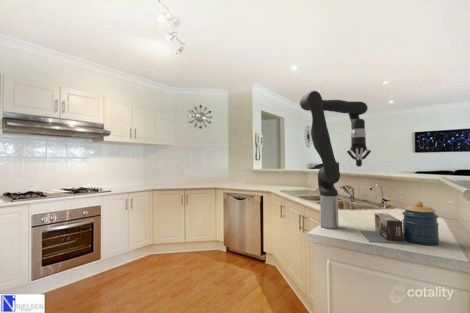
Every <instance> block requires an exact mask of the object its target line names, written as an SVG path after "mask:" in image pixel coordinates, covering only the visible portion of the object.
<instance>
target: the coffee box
mask: <svg viewBox="0 0 470 313" xmlns="http://www.w3.org/2000/svg"><path fill="white" fill-rule="evenodd" d="M374 231H376V232H378V233H379V234H380V235H381V236H383V237H384V238H385V239H386V240H387V241H403V240H404V237H403V221H402V220H400V219H398V218H396V217H394V216H392V215H391V214H389V213H380V212H378V213H377V212H375V213H374Z"/></svg>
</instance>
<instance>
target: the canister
mask: <svg viewBox="0 0 470 313" xmlns="http://www.w3.org/2000/svg"><path fill="white" fill-rule="evenodd" d="M401 213H402V215H403V219H401V221H402V228H403V240H404V241H406V242H408V243H409V242H410V243H413V244H417V245H426V246H437V245H439V243H440V237H439V223H438V218H439V217H440V216H439V215H438V214H436V209H434V208H432V206H428V205H424V203H423V201H416V202H415V204H410V205H409V204H408V205H407V206H405V207H404V211H402V212H401Z"/></svg>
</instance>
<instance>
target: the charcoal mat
mask: <svg viewBox="0 0 470 313" xmlns="http://www.w3.org/2000/svg"><path fill="white" fill-rule="evenodd" d="M360 232H361V233H362V235H363V236H364V237H365V238H366V240H368V241H369V242H370V243H381V244H397V245H409V242H408V241H407V240H405V239H403V241H387V240H386V239H385V238H384V237H383V236H381V235H380V234H379V233H378V232H376V231H375V230H362V229H361V230H360Z"/></svg>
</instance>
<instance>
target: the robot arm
mask: <svg viewBox="0 0 470 313" xmlns="http://www.w3.org/2000/svg"><path fill="white" fill-rule="evenodd" d="M299 106H300V108H301V109H302V110H304V111H308V112H309V111H310V113H311V119H312V123H311V129H310V137H311V141H312V145H313V147H314V149H315V151H316V152H317V154H318V156H319V157H320V159H321V163H322V167H320V168H319V170H318V173H317V183H318V184H317V185H318V191H319V199H320V200H319V206H320V207H319V216H320V217H319V220H320V221H319V222H320V227H321V228H325V229H338V228H339V194H338V189H336V187H335V184H337V183H338V182H339V181H340V179H341V172H340V169H339V166H338V163H337V160H336V157H335V153H334V150H333V145H332V142H331V137H330V134H329V128H328V126H327V120H326V116H325V112H334V113H339V114H340V113H341V114H348V116H349V120H350V123H351V131H350V138H351V139H350V140H351V141H350V142H351V143H350V144H351V147H350V149H348V150H347V151H346V153H347V154H348V156H350V158H351V159H352V160H355V165H356V166H357V167H358V168H359V167H360V168H361V167H362V165H363V160H366V158H367V157H368V156H369V155H370V154H371V152H372V151H371V149H368V147H367V144H366V141H367V140H366V124H365V120H364V119H363V118H360V116H361V115H363V114H366V113H367V111H368V105H367V103H366V102H363V101H348V100H344V99H343V100H342V99H323V97H322V95H321V94H320V92H318V91H317V90H313V91H309V92H307V93H306V94H304V95H303V96H302V97H301V98H300V100H299ZM363 154H364V155H363Z"/></svg>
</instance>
